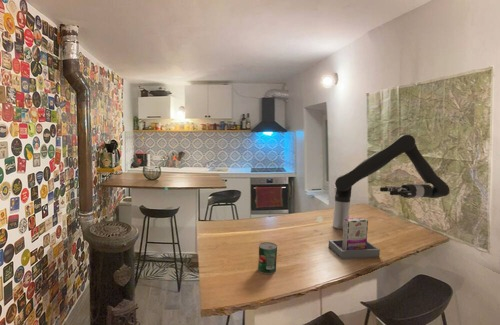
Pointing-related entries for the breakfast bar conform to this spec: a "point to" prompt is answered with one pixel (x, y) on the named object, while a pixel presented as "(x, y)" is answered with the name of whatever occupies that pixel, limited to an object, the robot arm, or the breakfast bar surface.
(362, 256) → the tray
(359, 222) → the candy bar box
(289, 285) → the breakfast bar surface
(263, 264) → the canned tomato
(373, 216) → the breakfast bar surface
